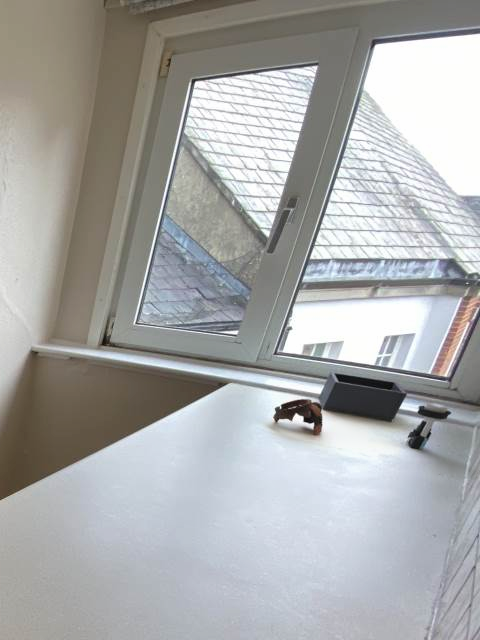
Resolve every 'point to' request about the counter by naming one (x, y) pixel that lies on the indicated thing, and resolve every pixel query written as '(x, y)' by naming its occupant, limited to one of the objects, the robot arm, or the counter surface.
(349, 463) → the counter surface
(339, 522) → the counter surface
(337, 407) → the dark grey open box
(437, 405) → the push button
